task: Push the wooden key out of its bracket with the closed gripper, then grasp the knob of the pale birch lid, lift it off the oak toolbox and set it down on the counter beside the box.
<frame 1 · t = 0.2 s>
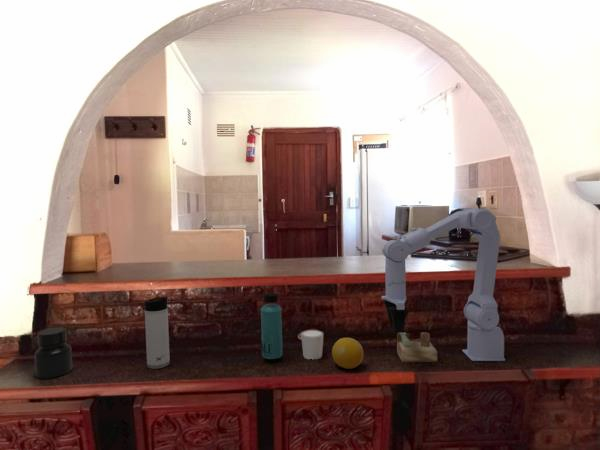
hand: (395, 327, 116), 10 cm above the countertop, tool pointing down, fingers open, 7 cm apart
toolbox: (416, 357, 118), on the countertop
travel mug: (159, 365, 116), on the countertop
lid: (416, 347, 118), point 3 cm above the countertop, touching toolbox
fruit: (347, 367, 113), on the countertop
beverage bottle: (272, 360, 118), on the countertop
white mug: (312, 356, 121), on the countertop
ink bottle: (54, 373, 112), on the countertop
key: (404, 339, 120), point 5 cm above the countertop, slide at 0.0 cm
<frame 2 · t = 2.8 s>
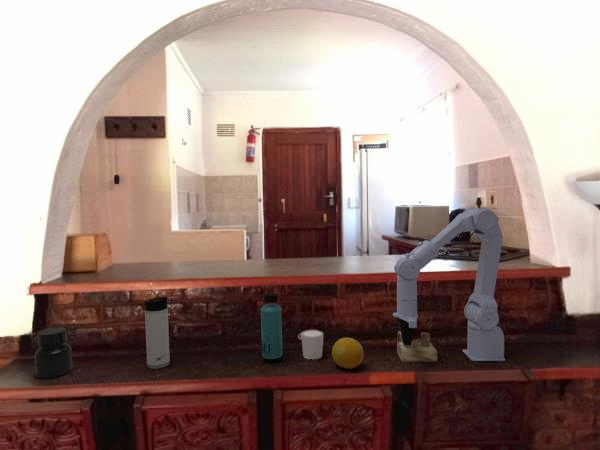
hand: (406, 344, 118), 4 cm above the countertop, tool pointing down, fingers closed
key: (403, 338, 122), point 5 cm above the countertop, slide at 1.3 cm, touching gripper
everything else where it was.
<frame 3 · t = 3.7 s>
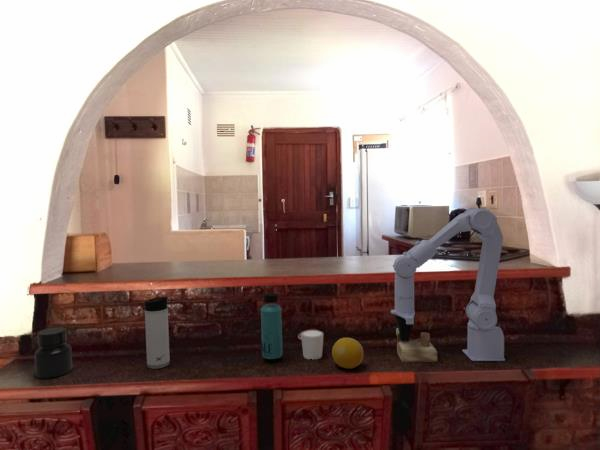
hand: (404, 340, 121), 4 cm above the countertop, tool pointing down, fingers closed
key: (401, 334, 125), point 5 cm above the countertop, slide at 4.4 cm, touching gripper
everything else where it was.
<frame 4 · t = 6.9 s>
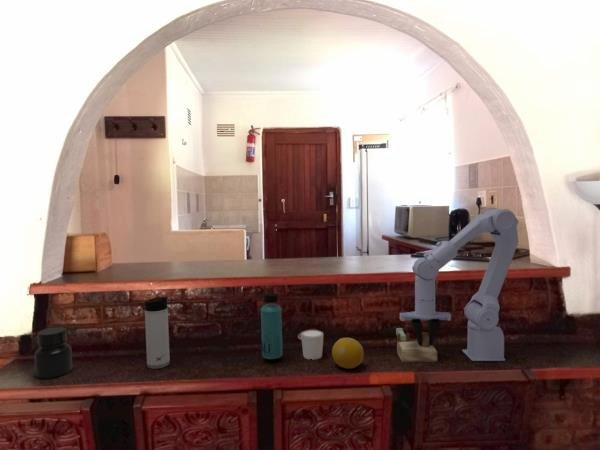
hand: (425, 344, 118), 4 cm above the countertop, tool pointing down, fingers closed on lid, 3 cm apart
lid: (416, 347, 118), point 3 cm above the countertop, touching gripper, toolbox
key: (401, 334, 125), point 5 cm above the countertop, slide at 4.4 cm
everything else where it was.
when the fingers open (2 cm above the countertop, at t = 10.0 s): lid drops 2 cm, on the countertop.
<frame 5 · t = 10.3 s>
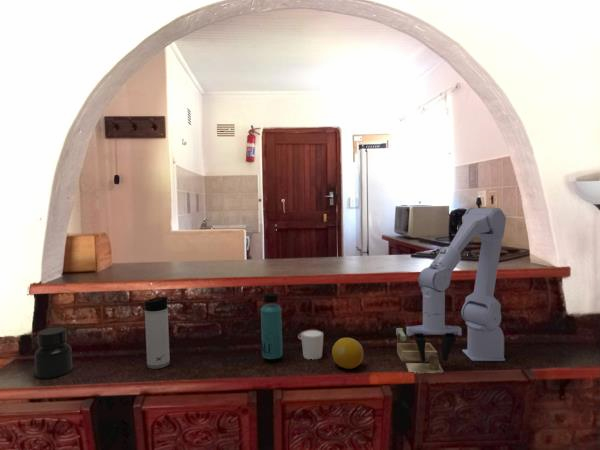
hand: (433, 360, 110), 3 cm above the countertop, tool pointing down, fingers open, 5 cm apart
lid: (424, 370, 110), on the countertop
everything else where it was.
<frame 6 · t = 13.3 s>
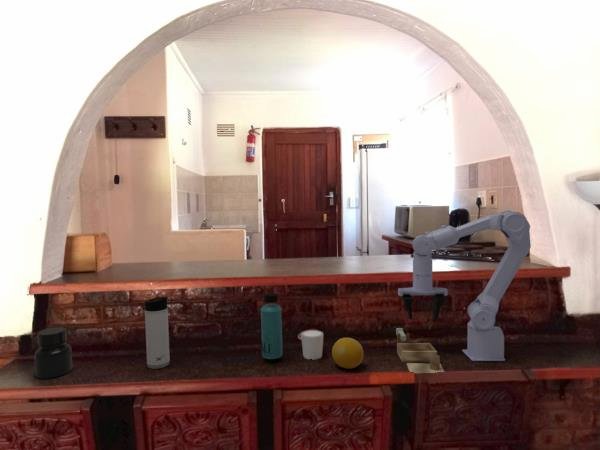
hand: (422, 318, 122), 10 cm above the countertop, tool pointing down, fingers open, 7 cm apart
nothing on the countertop moved.
at the end: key slide at 4.4 cm; lid inside the target area (0.6 cm from its centre), on the countertop; the gripper is holding nothing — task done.
